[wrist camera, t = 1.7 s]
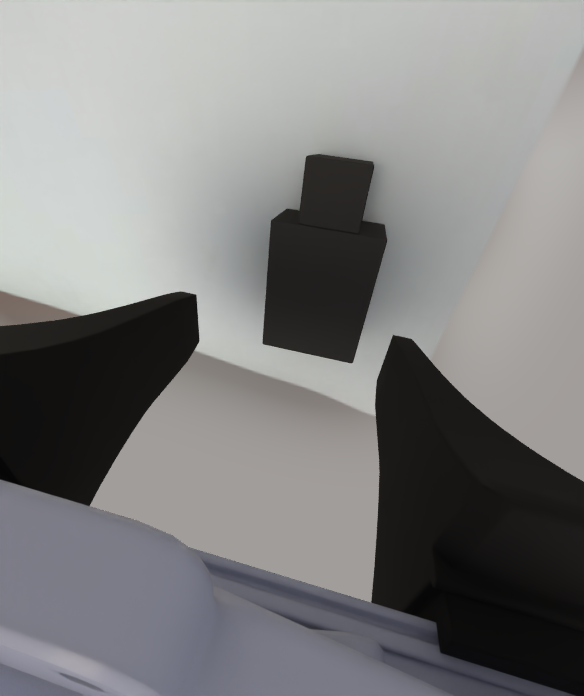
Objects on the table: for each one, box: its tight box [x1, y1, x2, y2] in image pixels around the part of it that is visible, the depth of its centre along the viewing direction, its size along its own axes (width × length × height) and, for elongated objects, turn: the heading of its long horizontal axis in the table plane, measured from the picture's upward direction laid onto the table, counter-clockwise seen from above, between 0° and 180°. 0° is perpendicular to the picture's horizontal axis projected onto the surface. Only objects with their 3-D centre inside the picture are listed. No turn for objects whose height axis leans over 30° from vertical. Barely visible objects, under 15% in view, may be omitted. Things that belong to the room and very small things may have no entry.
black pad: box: [263, 154, 387, 363], centre depth 15 cm, size 5×9×3 cm, turn 174°
